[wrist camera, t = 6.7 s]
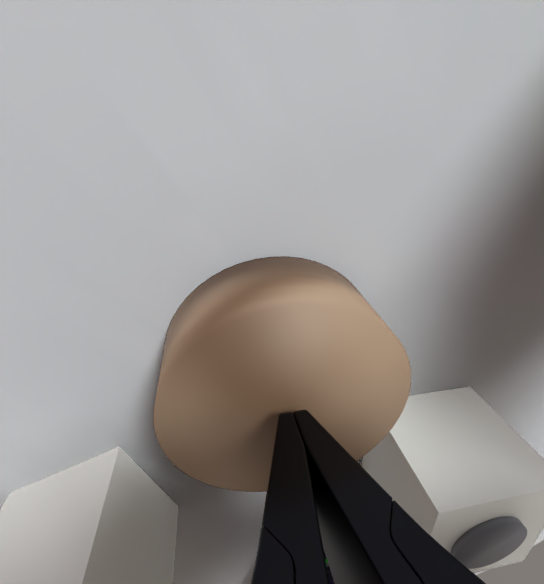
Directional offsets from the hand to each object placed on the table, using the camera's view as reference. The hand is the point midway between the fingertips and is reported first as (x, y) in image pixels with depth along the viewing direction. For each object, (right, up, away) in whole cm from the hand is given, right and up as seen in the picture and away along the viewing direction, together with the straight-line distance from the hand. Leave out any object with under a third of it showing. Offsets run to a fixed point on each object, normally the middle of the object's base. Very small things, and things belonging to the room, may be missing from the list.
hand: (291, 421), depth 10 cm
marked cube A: (+6, -3, +7) cm, 10 cm away
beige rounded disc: (-1, +2, +3) cm, 3 cm away
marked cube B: (-8, -5, +5) cm, 11 cm away
